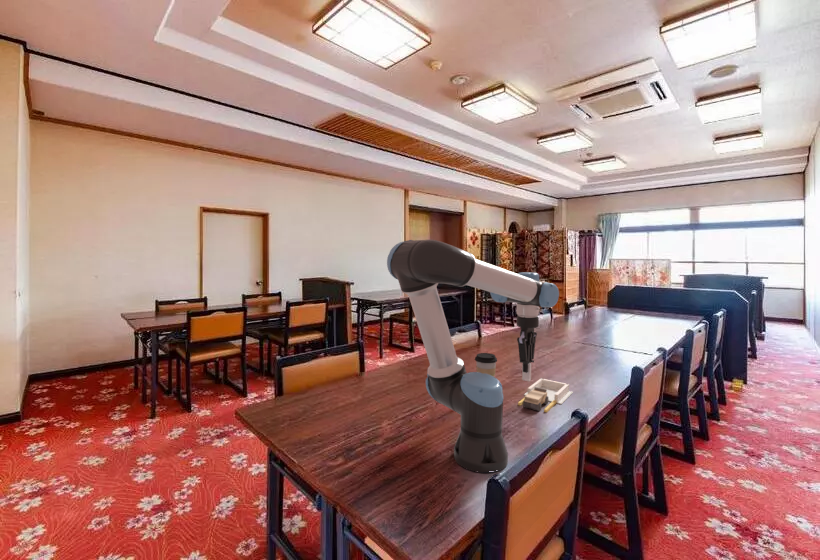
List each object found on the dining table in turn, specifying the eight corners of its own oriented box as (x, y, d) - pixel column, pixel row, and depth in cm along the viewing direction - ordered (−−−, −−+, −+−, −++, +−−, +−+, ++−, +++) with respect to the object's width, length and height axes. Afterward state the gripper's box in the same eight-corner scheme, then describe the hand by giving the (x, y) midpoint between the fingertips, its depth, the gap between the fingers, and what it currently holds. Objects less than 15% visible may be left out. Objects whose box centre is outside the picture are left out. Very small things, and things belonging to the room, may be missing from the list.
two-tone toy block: (538, 412, 139) (538, 397, 138) (522, 408, 142) (523, 394, 142) (548, 403, 147) (548, 389, 147) (533, 399, 151) (533, 386, 151)
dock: (552, 414, 137) (552, 404, 137) (513, 403, 146) (513, 395, 146) (572, 392, 158) (573, 384, 158) (537, 384, 167) (537, 377, 167)
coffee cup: (496, 394, 156) (497, 359, 155) (473, 392, 158) (474, 357, 157) (496, 386, 165) (496, 353, 164) (474, 384, 167) (475, 351, 166)
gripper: (531, 319, 126) (530, 387, 128) (544, 314, 136) (543, 377, 138) (510, 317, 131) (509, 383, 133) (524, 312, 141) (523, 373, 143)
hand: (526, 380), depth 135 cm, fingers closed
